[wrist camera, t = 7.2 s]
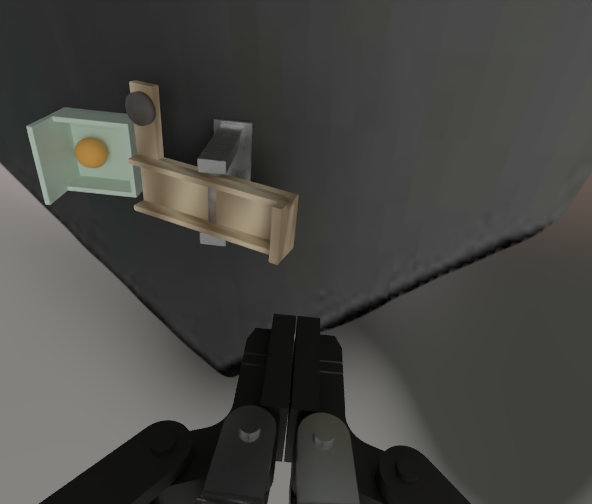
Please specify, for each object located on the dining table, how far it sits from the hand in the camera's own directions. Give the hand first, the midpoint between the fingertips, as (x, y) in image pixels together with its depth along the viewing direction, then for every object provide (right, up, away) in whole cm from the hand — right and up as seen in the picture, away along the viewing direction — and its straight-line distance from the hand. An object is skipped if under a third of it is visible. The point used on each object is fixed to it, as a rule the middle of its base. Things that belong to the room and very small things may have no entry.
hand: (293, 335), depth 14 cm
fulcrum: (-7, +13, +34) cm, 37 cm away
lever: (-7, +10, +24) cm, 27 cm away
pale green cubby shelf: (-21, +14, +34) cm, 42 cm away
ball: (-22, +13, +32) cm, 41 cm away
